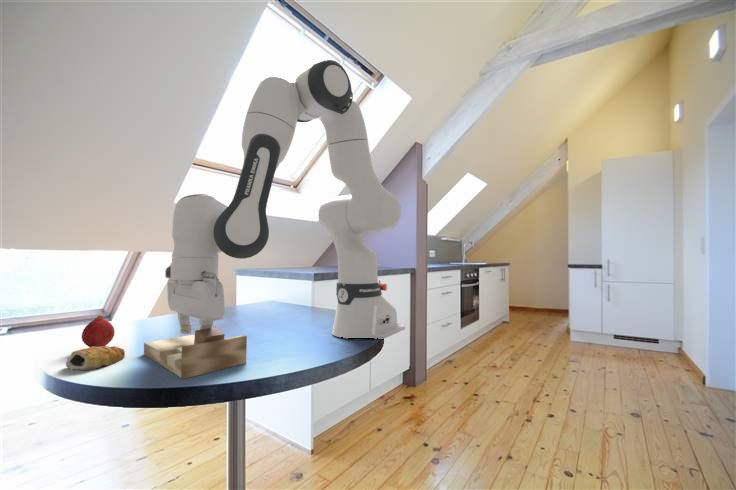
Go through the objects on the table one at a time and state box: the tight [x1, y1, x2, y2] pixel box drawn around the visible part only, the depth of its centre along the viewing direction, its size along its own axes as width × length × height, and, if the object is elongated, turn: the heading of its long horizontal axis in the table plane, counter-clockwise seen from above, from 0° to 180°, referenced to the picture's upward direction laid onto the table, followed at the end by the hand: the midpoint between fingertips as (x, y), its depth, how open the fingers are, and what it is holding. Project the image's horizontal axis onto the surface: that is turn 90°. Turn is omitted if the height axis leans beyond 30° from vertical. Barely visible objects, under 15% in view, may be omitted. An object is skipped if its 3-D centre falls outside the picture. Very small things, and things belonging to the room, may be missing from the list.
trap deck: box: [143, 333, 248, 380], centre depth 73 cm, size 12×22×6 cm, turn 48°
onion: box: [81, 314, 116, 348], centre depth 78 cm, size 6×6×8 cm
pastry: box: [65, 345, 126, 371], centre depth 70 cm, size 9×7×4 cm
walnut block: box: [194, 327, 226, 344], centre depth 67 cm, size 4×4×4 cm
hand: (194, 336), depth 72 cm, fingers open, 8 cm apart
